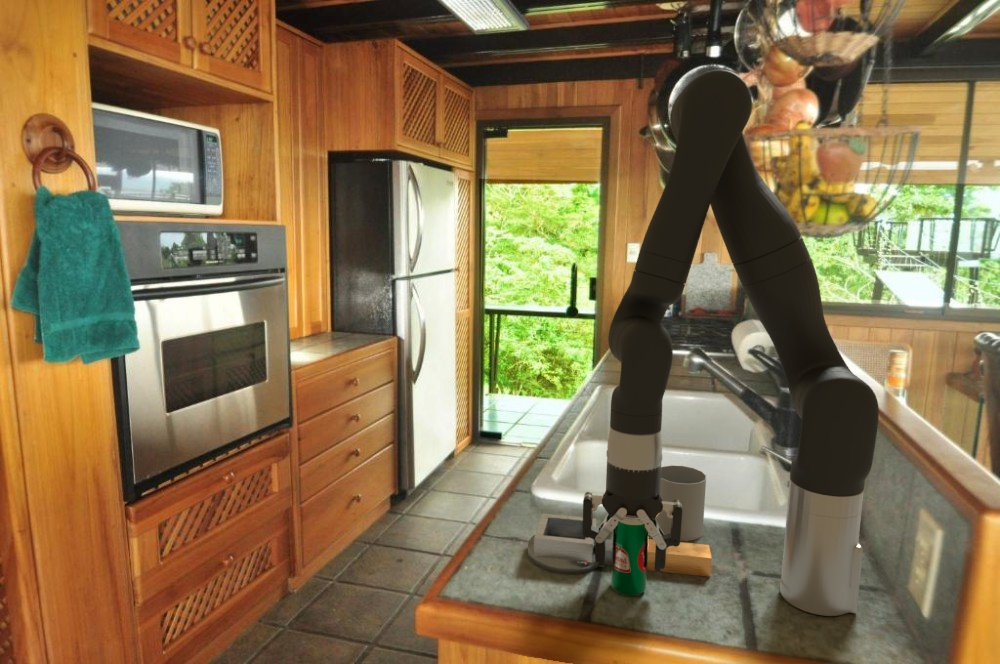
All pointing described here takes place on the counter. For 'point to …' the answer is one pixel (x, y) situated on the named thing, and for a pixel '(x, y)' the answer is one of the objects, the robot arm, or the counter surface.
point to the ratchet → (573, 553)
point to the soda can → (629, 556)
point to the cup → (683, 499)
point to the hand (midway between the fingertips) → (629, 566)
